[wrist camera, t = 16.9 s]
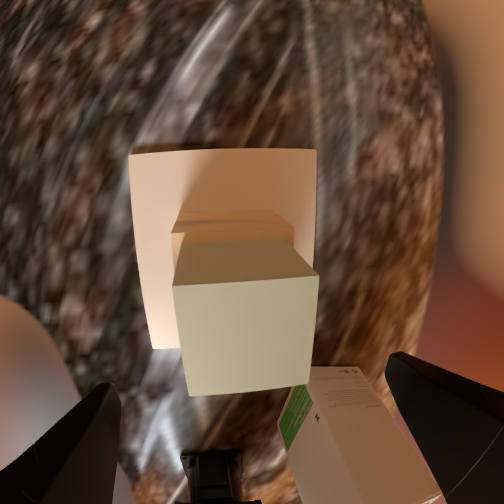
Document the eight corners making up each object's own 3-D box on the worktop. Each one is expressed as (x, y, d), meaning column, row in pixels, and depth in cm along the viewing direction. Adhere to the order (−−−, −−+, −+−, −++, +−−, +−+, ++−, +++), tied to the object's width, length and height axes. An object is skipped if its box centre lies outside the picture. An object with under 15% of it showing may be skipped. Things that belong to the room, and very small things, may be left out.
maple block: (271, 294, 22) (289, 331, 17) (185, 299, 21) (182, 339, 16) (272, 209, 20) (294, 227, 15) (178, 213, 19) (170, 233, 14)
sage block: (281, 325, 17) (308, 383, 12) (190, 332, 16) (189, 396, 11) (283, 237, 15) (319, 275, 11) (181, 243, 14) (171, 286, 10)
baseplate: (305, 332, 24) (307, 336, 23) (153, 344, 22) (152, 348, 22) (313, 149, 20) (316, 149, 19) (130, 155, 18) (128, 155, 17)
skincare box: (299, 362, 25) (373, 520, 10) (362, 364, 26) (450, 488, 12) (274, 425, 27) (316, 559, 12) (331, 423, 29) (387, 538, 14)
